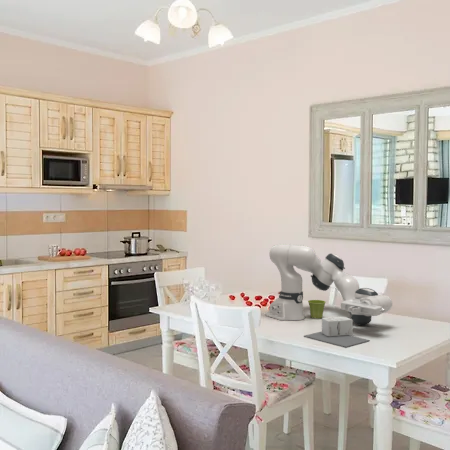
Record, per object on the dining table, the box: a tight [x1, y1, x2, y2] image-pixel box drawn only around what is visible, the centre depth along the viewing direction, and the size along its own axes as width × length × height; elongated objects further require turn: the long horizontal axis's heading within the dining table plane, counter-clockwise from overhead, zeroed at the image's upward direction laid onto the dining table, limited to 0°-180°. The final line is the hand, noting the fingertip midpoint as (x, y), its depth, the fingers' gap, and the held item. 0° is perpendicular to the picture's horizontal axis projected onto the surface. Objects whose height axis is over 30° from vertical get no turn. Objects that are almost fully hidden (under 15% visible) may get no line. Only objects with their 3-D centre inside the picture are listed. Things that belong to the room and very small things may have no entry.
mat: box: [303, 330, 371, 349], centre depth 250 cm, size 24×17×1 cm
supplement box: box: [321, 316, 354, 336], centre depth 256 cm, size 7×7×13 cm
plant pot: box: [307, 299, 327, 319], centre depth 294 cm, size 9×9×9 cm
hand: (350, 310), depth 256 cm, fingers closed
